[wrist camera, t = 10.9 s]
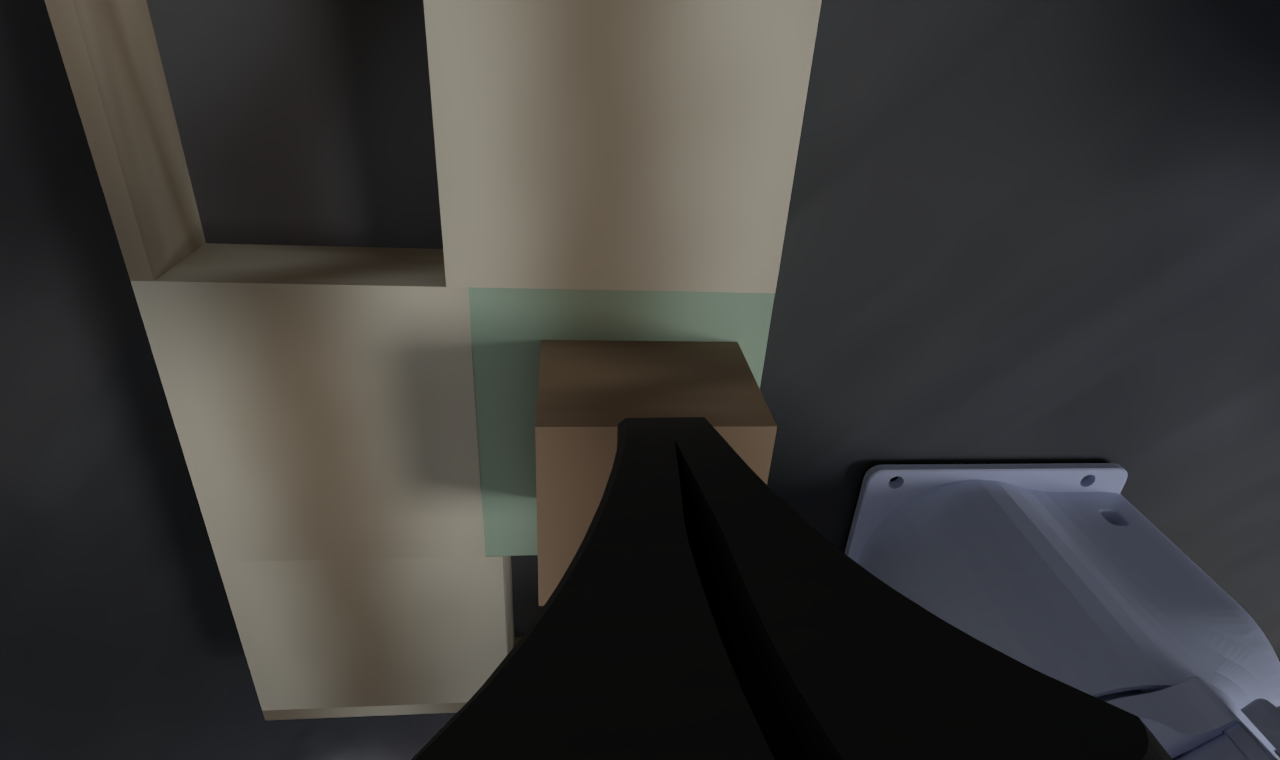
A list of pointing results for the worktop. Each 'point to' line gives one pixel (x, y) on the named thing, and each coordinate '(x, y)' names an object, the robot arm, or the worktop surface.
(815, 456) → the worktop surface
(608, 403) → the walnut block
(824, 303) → the worktop surface
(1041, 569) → the robot arm
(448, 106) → the trap board
